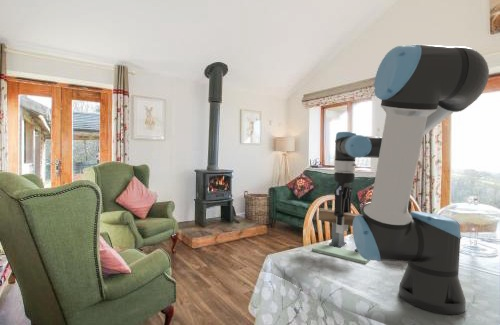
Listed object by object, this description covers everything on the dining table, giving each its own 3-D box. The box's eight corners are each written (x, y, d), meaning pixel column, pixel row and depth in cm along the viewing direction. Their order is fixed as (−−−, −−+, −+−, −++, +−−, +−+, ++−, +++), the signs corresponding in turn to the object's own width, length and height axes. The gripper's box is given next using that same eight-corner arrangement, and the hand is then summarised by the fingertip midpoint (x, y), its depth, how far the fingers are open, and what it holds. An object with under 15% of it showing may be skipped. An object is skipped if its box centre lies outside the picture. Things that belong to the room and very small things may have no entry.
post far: (340, 247, 120) (341, 220, 119) (329, 245, 123) (330, 218, 122) (346, 244, 125) (347, 218, 125) (335, 241, 128) (336, 216, 128)
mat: (366, 264, 102) (366, 261, 102) (311, 250, 115) (312, 248, 115) (372, 258, 109) (372, 255, 109) (320, 246, 122) (320, 243, 122)
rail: (364, 228, 105) (365, 217, 105) (318, 220, 116) (318, 210, 116) (367, 226, 108) (368, 215, 108) (322, 218, 119) (322, 208, 119)
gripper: (346, 173, 102) (343, 238, 103) (361, 171, 116) (358, 229, 116) (326, 172, 107) (324, 234, 107) (342, 170, 120) (340, 225, 121)
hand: (342, 231), depth 112 cm, fingers closed on rail, 4 cm apart
